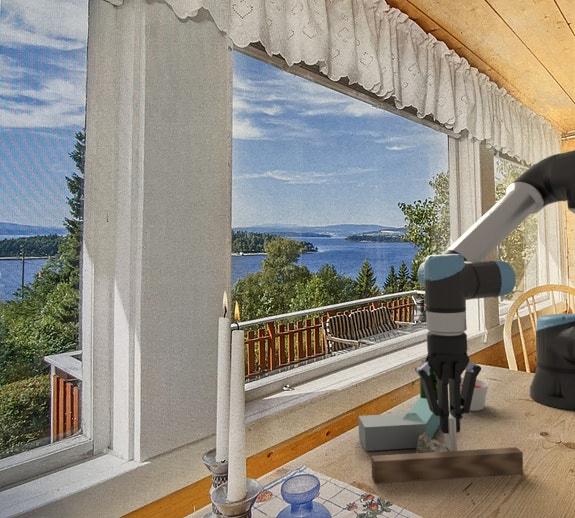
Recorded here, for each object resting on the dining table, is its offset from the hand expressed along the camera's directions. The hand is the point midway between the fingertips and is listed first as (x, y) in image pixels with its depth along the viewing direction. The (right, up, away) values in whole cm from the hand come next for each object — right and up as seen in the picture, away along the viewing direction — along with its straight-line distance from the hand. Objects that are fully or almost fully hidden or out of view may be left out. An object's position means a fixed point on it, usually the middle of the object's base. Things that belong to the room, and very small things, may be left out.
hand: (450, 447), depth 86 cm
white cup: (+15, -1, +26) cm, 30 cm away
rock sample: (-3, -3, -1) cm, 4 cm away
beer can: (+5, -1, +27) cm, 27 cm away
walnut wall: (-3, -2, -6) cm, 7 cm away
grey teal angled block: (-6, -2, +12) cm, 13 cm away
